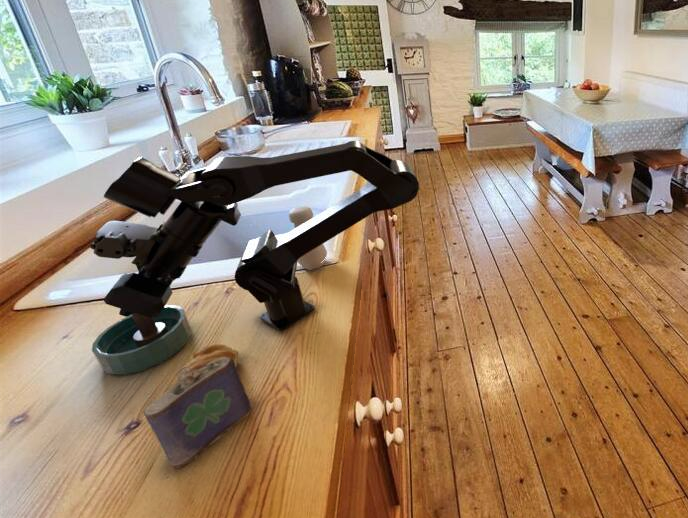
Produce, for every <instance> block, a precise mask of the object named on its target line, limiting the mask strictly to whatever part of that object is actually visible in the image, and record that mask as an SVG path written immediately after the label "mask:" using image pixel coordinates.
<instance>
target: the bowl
mask: <svg viewBox="0 0 688 518" xmlns="http://www.w3.org/2000/svg"><path fill="white" fill-rule="evenodd" d="M153 320H154V322H155V323H157V322H162V323H164V324H165V325H166V327H167V329H168V331H169V332H167V333H166V334H165V335H163V336H162V337H160V338H159V339H157V340H155V341H153V342H151V343H149V344H147V345H145V346H142V347H140V348H138V347H137V345H136V343H135V341H134V339H133V336H134V334H135V333H136V332H137V331H138V330H139V329H138V327H137V325H136V323H135V321H134V320H133V318H132V316H131V315H130V316H128V317H125V316H124V318H121V319H119V320H118V321H117V322H115V323H113V324H112V325H110V326H109V327H107V328H106V329H105V330H104V331H102V332H101V333H100V334H98V336H96V339H95V340H94V341H93V343H92V345H91V352H92V354H93V356H94V357H95V359H96V361H97V362H98V364H99V366H100V368H101V369H102V370H103V371H104V373H107V374H112V375H129V374H134V373H138V372H142V371H145V370H148V369H150V368H154V367H155V366H157V365H159V364H161V363H163V362H165V361H167V360H168V359H169V358H171V357H172V356H174V355H176V353H178V352H179V351H180V350H181V349H182V348H183V347H184V346H185V344H187V341H189V339H190V338H191V335H192V332H193V329H192V324H191V322H190V319H189V318H188V315H187V313H186V310H185V309H183V308H182V307H181V306H179V305H173V304H166V305H165V307H164V308H163V310H162V311H161V312H160V314H159V315H158V316H157V317H154V318H153Z"/></svg>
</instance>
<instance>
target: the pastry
mask: <svg viewBox="0 0 688 518" xmlns="http://www.w3.org/2000/svg"><path fill="white" fill-rule="evenodd" d="M220 357H229V358H231V359H233V360H234V363H235V366H236V367H237V366H238V358H239V351H237V350H236V349H234V348H232V347H230V346H227V345H225V344H223V343H217V344H215V343H214V344H211V345H207V346H204V347H202V348H201V349H200V350H198V351H195V352H194V353H193V354H192V356H191V357H190V358H188V363H187V364H186V366H187V367H186V368H184V369H183V371H184V370H185V369H187V368H189V369H188V370H189V371H191V370H199V369H200V368H202V367H204V366H206V365H207V364H209V363H210V362H212V361H215V360H217V359H219V358H220Z"/></svg>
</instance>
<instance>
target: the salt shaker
mask: <svg viewBox="0 0 688 518" xmlns="http://www.w3.org/2000/svg"><path fill="white" fill-rule="evenodd" d="M312 218H314V211H313V210H312V208H311V207H310V206H308V205H301V206H296V207H294V208H292V209H291V210H290V211H289V212H288V219H289V221H290V223H292V224H294V225H293V227H294V229H295V228H297V227H299V226H300V225H302V224H304V223H305V222H307V221H309V220H310V219H312ZM327 256H328V251H327V249H326V247H325V245H324V243H323V244H322V245H320V246H318V247H317V248H315V249H314V250H312V251H310V252H309V253H307V254H305V255H304V256H302V257H301V258H299V259H298V262H297V264H299V265H300V266H301V265H302V266H301V267H302V268H303V269H304V270H309V271H312V270H313V271H314V270H316V269H318V268H321V267H322V266H324V264H325V262H326V259H327ZM325 257H326V258H325ZM324 259H325V260H324ZM323 260H324V261H323ZM322 261H323V262H322ZM321 262H322V263H321Z"/></svg>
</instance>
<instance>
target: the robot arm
mask: <svg viewBox="0 0 688 518" xmlns="http://www.w3.org/2000/svg"><path fill="white" fill-rule="evenodd" d="M346 172H354V173H355V174H356V175H359V176H360V177H361V178H363V179H364V180H366V183H364V185H363V186H362V187H361V188H360V189H359V190H356V191H355V192H353V193H352V194H350V195H349V196H347V197H346V198H344V199H342V200H340V201H339V202H337V203H335V204H333V205H332V206H330V207H328V208H327V209H325V210H323V211H322V212H320V213H319V214H316V215H315V216H313V218H312V219H310V220H309V221H307V222H305V223H304V224H302V225H300V226H299V227H297V228H295V227H294V229H292V230H290V231H288V232H286V233H283V234H282V233H281V234H276V235H275V233H274V231H273V230H272V229H268V230H266V231H265V232H264V233H263V234H262V235H260V236H259V237H257V238H254V239H249V241H248V243H247V245H246V248H245V249H244V250H243V252H242V255H241V256H240V259H239V262H238V265H237V267H236V270H235V272H234V281H235V283H236V284H237V286H238V287H240V288H241V289H242V290H245V291H248V292H249V294H251V295H252V297H253V298H254V299H255V300H256V301H257V302H258V303H260V304H264V307H265V312H263V313H262V314H260V316H259V317H260V320H262V321H263V322H265V323H267V324H269V325H270V326H271V327H273V328H274V329H276V330H278V331H280V332H281V331H284V330H286V329H287V328H289V327H291V326H292V325H293V324H295V323H296V322H298V321H299V320H302V318H304V317H306V316H307V315H309V314H310V313H312V312H314V311H315V309H316V307H315V306H314V305H313V304H311V303H309V302H307V301H306V300H305V299H304V297H303V293H302V290H301V285H300V282H299V279H298V277H297V276H296V274H297V273H296V272H297V267H298V259H299V258H301V257H302V256H304V255H305V254H307V253H309V252H310V251H312V250H314V249H315V248H317V247H318V246H320V245H322V244H323V245H324V244H325V243H327V242H328V241H330V240H332V239H333V238H335V237H336V236H338V235H340V234H341V233H343V232H345V231H347V230H348V229H350V228H351V227H353V226H354V225H356V224H358V223H359V222H361V221H362V220H364V219H366V218H368V217H370V216H371V215H372V214H375V213H377V212H383V211H390V210H394V209H397V208H399V207H401V206H403V205H406V204H408V203H411V202H412V201H413V200H414V199H415V198H417V196H418V193H419V189H420V184H419V180H418V178H417V176H416V174H415V171H414V169H413V168H412V166H411V165H410V164H409V163H408V162H406V161H405V160H400V159H392V158H390V157H389V156H387V155H385V154H383V153H381V152H379V151H377V150H374V149H373V148H370V147H368V146H366V145H364V143H362V142H361V141H358V140H350V141H348V142H345V143H342V144H341V143H340V144H335V145H330V146H325V147H320V148H313V149H309V150H304V151H303V150H302V151H298V152H292V153H287V154H283V155H277V156H271V157H269V156H268V157H259V156H252V155H251V156H249V155H239V156H237V155H235V156H222V157H219V158H216V159H214V160H213V161H211V163H210V164H209V165H208V166H207V167H202V168H199V169H194V170H192V171H187V172H186V173H185V174H184V175H183V176H182V177H180V176H178V175H176V174H174V173H172V172H169V171H167V170H166V169H163V168H161V167H160V166H158V165H156V164H155V163H153V162H152V161H150V160H149V159H146V158H144V157H142V156H141V157H138V158H136V159H135V160H134V161H133V162H132V163H131V164H130V165H129V167H128V168H127V169H126V170H125V171H124V172H123V173H122V174H120V176H119V177H118V178H117V179H115V180H114V181H113V182H112V183H111V184H110V185H109V186H108V188H107V189H106V191H105V192H104V195H103V198H104V199H106V200H109V201H111V202H113V203H115V204H118V205H121V206H123V207H124V208H127V209H129V210H132V211H134V212H137V213H139V214H141V215H144V216H146V217H148V218H151V217H152V218H153V219H154V218H156V217H158V215H159V214H160V215H162V216H164V215H165V214H167V212H168V211H169V210H170V209H171V207H172V206H173V205H174V203H175V202H176V201H177V200H178V201H180V202H179V204H178V205H177V206H176V207H175V209H174V210H173V212H172V213H171V214H170V216H169V217H168V218H167V219H166V221H163V222H161V224H160V225H159V227H154V226H150V225H147V224H143V223H137V222H128V221H120V220H109V221H107V222H105V224H103V226H101V227H100V228H99V229H98V230H97V231H96V233H95V237H94V241H93V242H92V243H90V245H89V248H90V250H91V249H92V250H93V254H94V255H96V256H97V257H99V258H106V259H114V260H119V259H121V258H133V259H132V261H131V264H132V265H135V266H136V269H137V271H138V272H130V273H124V274H121V276H120V277H119V278H118V280H117V281H116V282H115V284H114V285H113V286H112V287H111V288H110V290H109V291H108V293H107V294H106V295H105V296H104V298H103V299H102V300H103V302H104V303H105V305H108V306H111V307H114V308H117V309H120V310H119V313H118V315H120V316H122V317H124V318H125V317H128V316H130V315H132V314H134V313H136V314H140V315H143V316H146V317H149V318H154V317H157V316H158V315H159V314H160V312H161V311H162V310H163V308H164V307H165V305H168V302H169V300H170V298H171V296H172V295H173V289H172V288H171V285H172V284H173V282H174V281H176V280H177V279H181V277H182V276H183V274H184V272H185V270H186V269H187V268H188V266H189V264H190V263H191V261H193V259H194V258H196V257H197V256H198V255H199V254H200V252H201V250H202V248H203V246H204V245H205V243H206V242H207V241H208V239H209V238H210V236H211V235H212V234H213V233H214V231H215V230H216V229H217V228H218V226H219V225H220V223H221V222H224V223H227V224H228V225H230V226H237V225H238V223H239V220H240V218H241V216H242V214H241V211H240V209H239V207H238V206H239V204H238V203H239V202H242V201H245V200H247V199H250V198H253V197H254V196H256V195H258V194H260V193H262V192H264V191H266V190H268V189H271V188H273V187H277V186H282V185H286V184H291V183H297V182H302V181H306V180H312V179H316V178H321V177H325V176H330V175H335V174H340V173H346Z"/></svg>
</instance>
